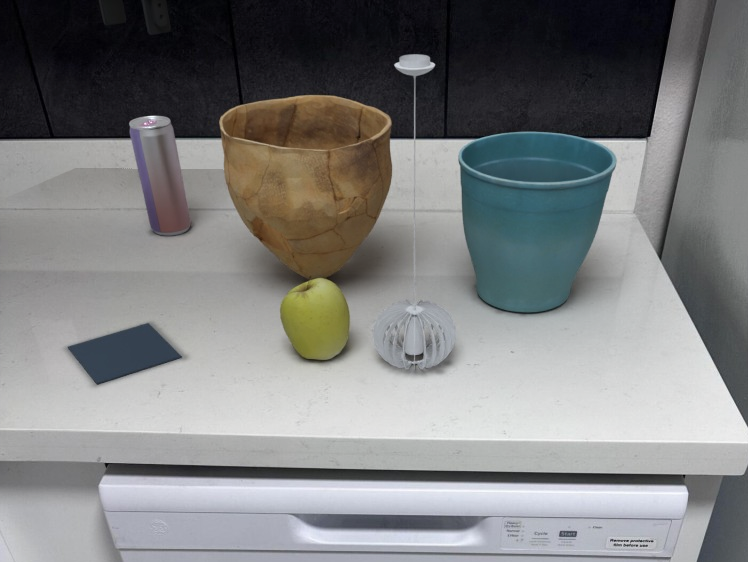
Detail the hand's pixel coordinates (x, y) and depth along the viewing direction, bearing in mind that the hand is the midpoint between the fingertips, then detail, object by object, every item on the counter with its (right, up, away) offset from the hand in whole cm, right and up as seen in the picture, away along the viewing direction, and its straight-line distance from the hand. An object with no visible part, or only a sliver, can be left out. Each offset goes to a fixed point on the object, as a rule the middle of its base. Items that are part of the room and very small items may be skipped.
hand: (137, 28), depth 102 cm
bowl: (+23, -31, +4) cm, 39 cm away
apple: (+25, -45, -11) cm, 52 cm away
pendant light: (+36, -46, -12) cm, 59 cm away
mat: (+2, -45, -11) cm, 46 cm away
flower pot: (+50, -35, 0) cm, 61 cm away
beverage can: (0, -20, +17) cm, 26 cm away
